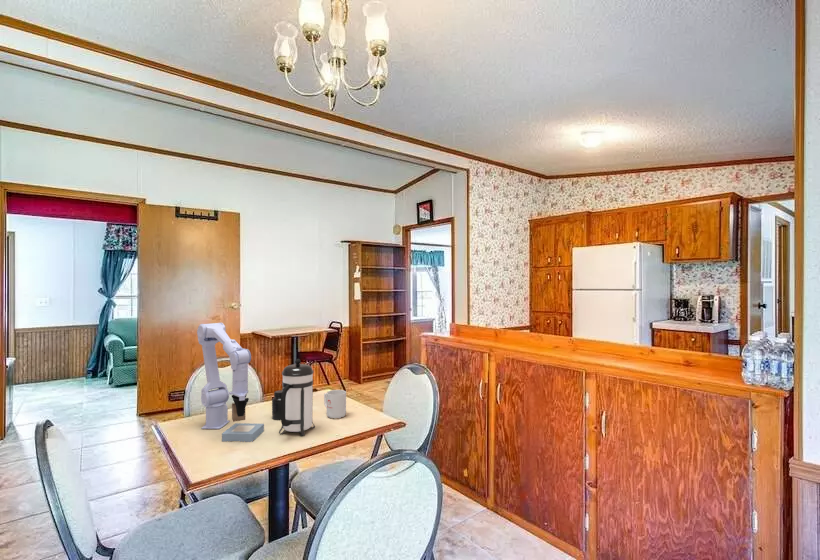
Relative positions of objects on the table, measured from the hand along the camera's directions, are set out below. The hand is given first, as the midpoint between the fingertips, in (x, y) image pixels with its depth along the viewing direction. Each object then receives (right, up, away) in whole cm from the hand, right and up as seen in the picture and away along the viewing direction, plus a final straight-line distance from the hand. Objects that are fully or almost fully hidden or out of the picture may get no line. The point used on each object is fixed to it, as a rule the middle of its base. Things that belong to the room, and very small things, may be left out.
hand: (239, 414), depth 167 cm
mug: (+33, -10, +27) cm, 44 cm away
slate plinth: (+1, -9, +1) cm, 9 cm away
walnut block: (0, -2, 0) cm, 2 cm away
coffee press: (+21, -9, +5) cm, 24 cm away
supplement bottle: (+9, -9, +24) cm, 27 cm away
